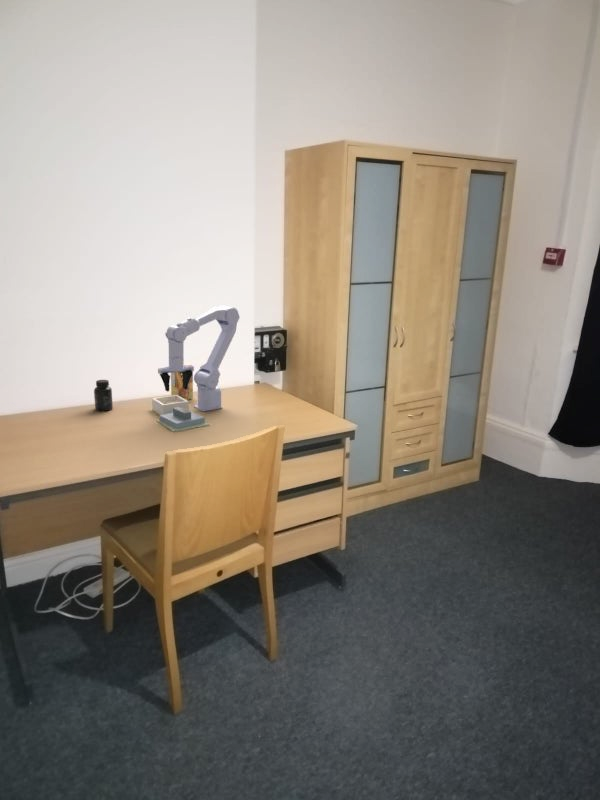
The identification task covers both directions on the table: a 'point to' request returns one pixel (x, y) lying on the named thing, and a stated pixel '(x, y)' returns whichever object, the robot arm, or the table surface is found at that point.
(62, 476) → the table surface
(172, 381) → the candy box
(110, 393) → the supplement bottle
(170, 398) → the storage box
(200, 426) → the mat
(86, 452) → the table surface
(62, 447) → the table surface
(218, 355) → the robot arm
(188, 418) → the lid
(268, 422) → the table surface
